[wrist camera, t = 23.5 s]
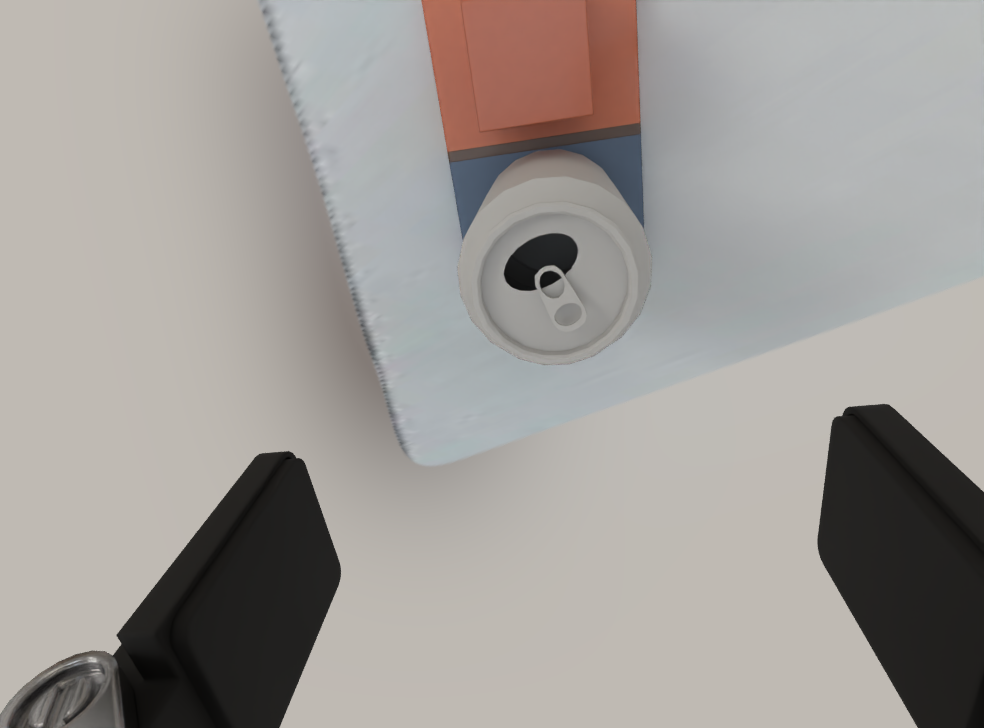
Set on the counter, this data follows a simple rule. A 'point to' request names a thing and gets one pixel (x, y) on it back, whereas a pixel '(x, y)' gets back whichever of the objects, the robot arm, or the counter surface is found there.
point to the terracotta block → (528, 61)
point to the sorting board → (597, 137)
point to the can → (554, 260)
